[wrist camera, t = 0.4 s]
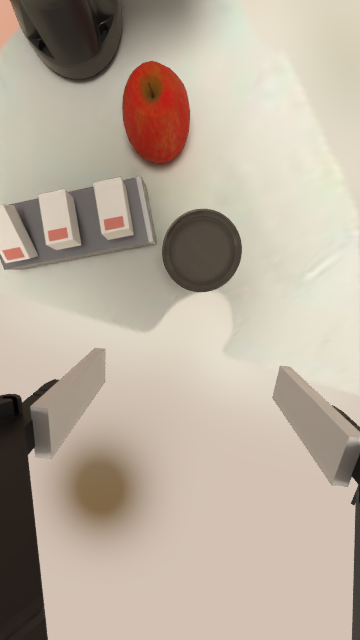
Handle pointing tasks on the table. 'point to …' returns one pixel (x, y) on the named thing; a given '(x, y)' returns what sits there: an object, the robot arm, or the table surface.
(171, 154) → the apple
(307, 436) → the robot arm
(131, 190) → the rocker switch panel
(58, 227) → the rocker
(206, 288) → the coffee can
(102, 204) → the block
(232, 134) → the table surface
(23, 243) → the rocker
